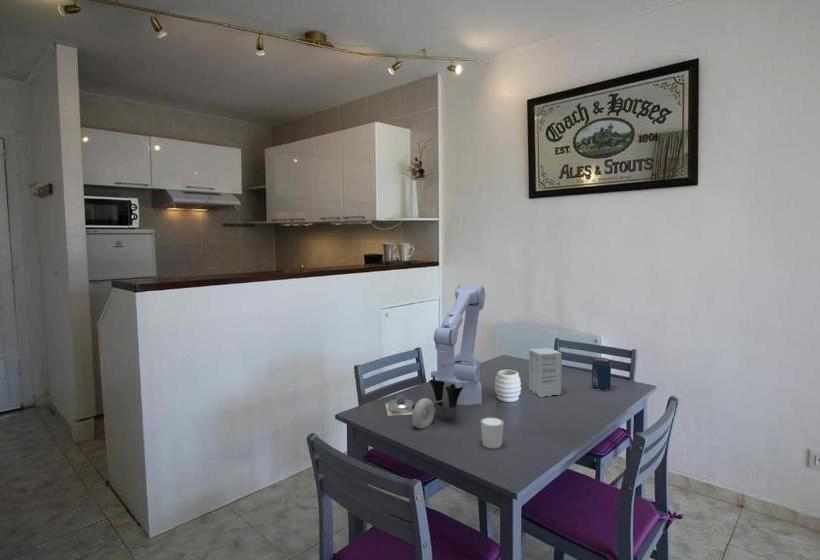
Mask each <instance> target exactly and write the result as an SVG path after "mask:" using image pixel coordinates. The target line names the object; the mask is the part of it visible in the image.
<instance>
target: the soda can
mask: <svg viewBox="0 0 820 560" xmlns="http://www.w3.org/2000/svg"><path fill="white" fill-rule="evenodd" d="M591 363H592V364H591V369H592V370H591V386H592V388H593V389H594V388H595V389H600V390H606V389H608V390H609V389H610V388H611V377H612V376H611V374H612V372H611V371H612V364H611V362H610V359H609V358H606V357H594V358H593V361H592V362H591ZM595 389H594V390H595Z"/></svg>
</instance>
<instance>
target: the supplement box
mask: <svg viewBox="0 0 820 560" xmlns="http://www.w3.org/2000/svg"><path fill="white" fill-rule="evenodd" d="M562 354H563V353H562V352H560V351H558V350H555V349H554V348H550V347H542V348H541V347H540V348H529V349H528V358H529V359H528V391H529V390H530V392H531V391H532V392H531V393H533V394H534V393H535V394H534V395H536V394H537V395H538V397H539V396H540V397H539V398H544V397H545V396H548V397H553V396H552V395H558V396H560V395H559V394H561V395H562V360H563V359H562ZM537 395H536V396H537ZM545 398H546V397H545Z"/></svg>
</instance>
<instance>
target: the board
mask: <svg viewBox="0 0 820 560" xmlns="http://www.w3.org/2000/svg"><path fill="white" fill-rule="evenodd" d="M384 404H385V409H386V412H387V416H388V417H390V416H392V417H393V416H408V415H411V416H412V415H413V410H414V408H413V410H412V411H410V412H407V413H393V412H390V411H389V410H388V402H386V403H384ZM424 412H425V411H424ZM435 414H436V408H435ZM423 415H424V413H423Z"/></svg>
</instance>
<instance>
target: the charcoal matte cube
mask: <svg viewBox="0 0 820 560" xmlns="http://www.w3.org/2000/svg"><path fill="white" fill-rule="evenodd" d="M457 405H458V404H456V407H452V408H451V407H450V406H449V399H448V400H446V401H443V402H439V403H435V408H436V413H435V418H437V420H440V421H441V422H443V423H447V422H450V421H454V420H457V412H458V411H457Z"/></svg>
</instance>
